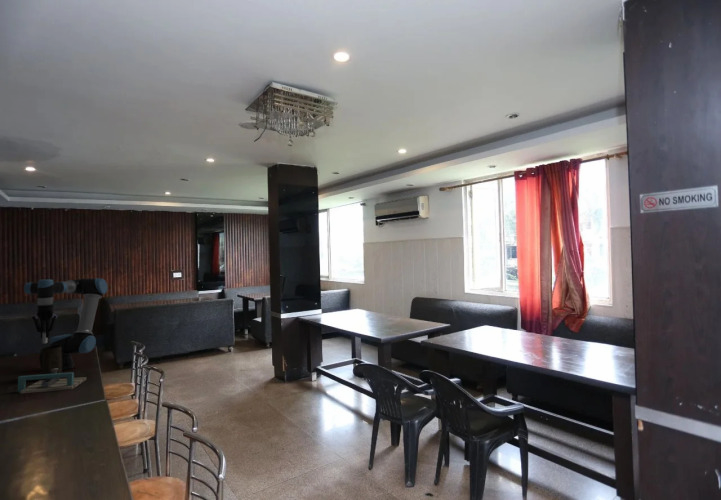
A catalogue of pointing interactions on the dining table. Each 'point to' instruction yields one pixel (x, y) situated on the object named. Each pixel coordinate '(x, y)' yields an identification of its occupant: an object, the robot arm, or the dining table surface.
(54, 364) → the beer stein
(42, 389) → the pivot plate
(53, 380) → the swing link
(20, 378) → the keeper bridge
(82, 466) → the dining table surface
